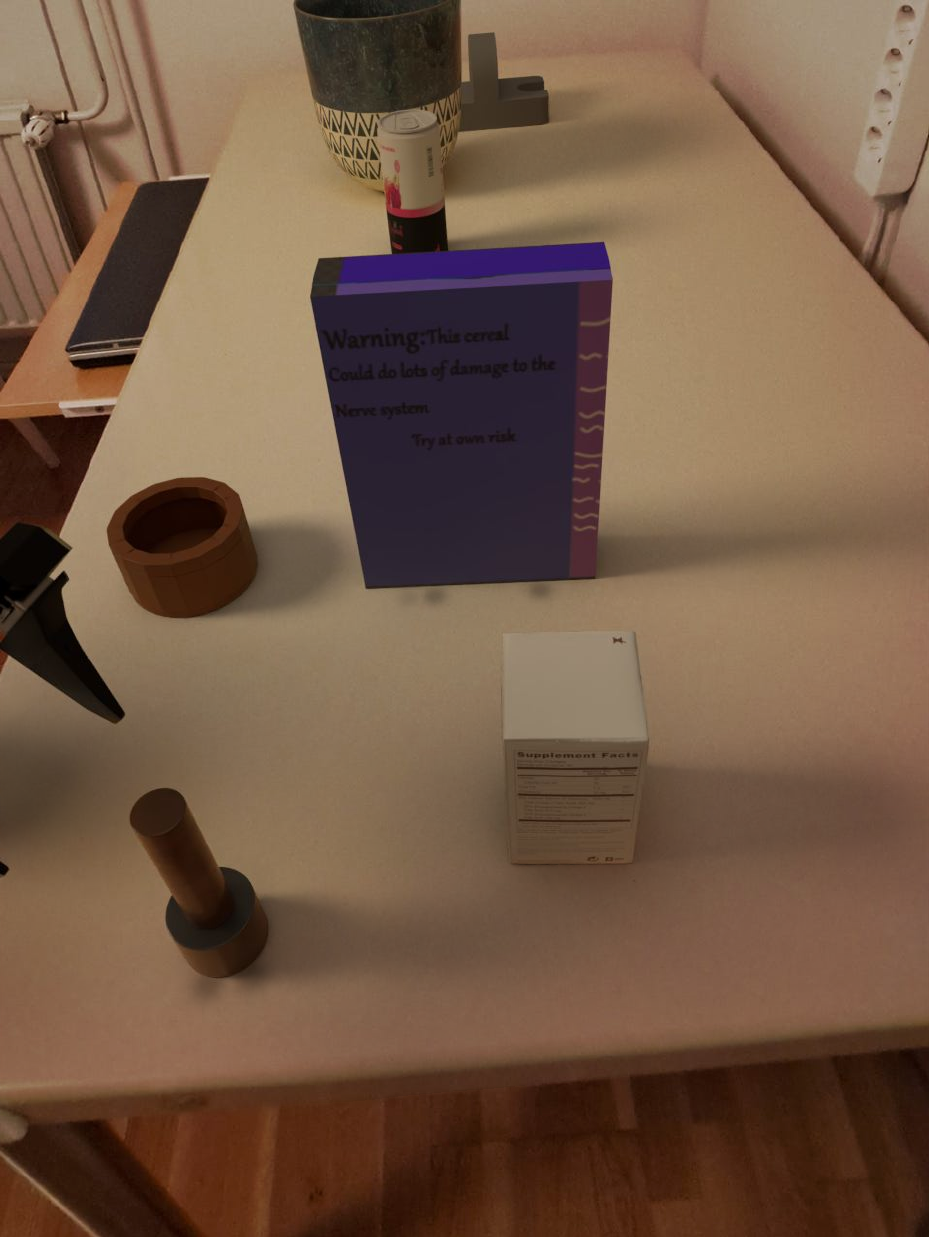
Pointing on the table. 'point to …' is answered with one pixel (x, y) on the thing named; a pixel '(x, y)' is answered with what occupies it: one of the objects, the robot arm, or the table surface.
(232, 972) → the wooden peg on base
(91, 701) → the robot arm
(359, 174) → the planter
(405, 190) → the beverage can
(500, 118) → the bracket
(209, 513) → the bowl
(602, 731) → the white packaging box
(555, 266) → the cereal box
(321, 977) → the table surface
